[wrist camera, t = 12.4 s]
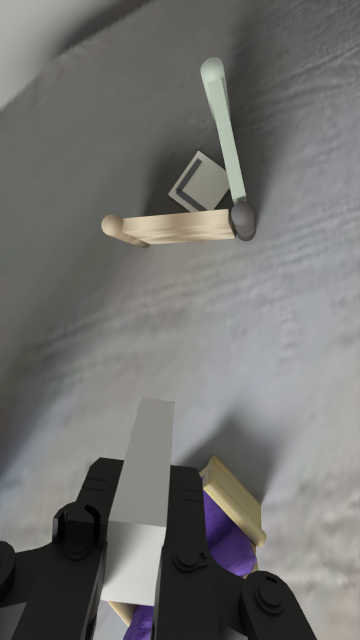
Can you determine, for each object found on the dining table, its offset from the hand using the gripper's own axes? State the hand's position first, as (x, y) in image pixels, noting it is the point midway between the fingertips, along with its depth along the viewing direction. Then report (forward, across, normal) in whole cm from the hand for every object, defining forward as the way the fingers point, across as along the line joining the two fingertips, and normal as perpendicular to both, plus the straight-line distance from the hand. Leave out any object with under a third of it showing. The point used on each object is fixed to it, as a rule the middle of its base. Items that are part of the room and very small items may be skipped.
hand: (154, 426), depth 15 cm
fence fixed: (+27, +1, +9) cm, 29 cm away
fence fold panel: (+27, +4, +17) cm, 32 cm away
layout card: (+28, +1, +14) cm, 32 cm away
